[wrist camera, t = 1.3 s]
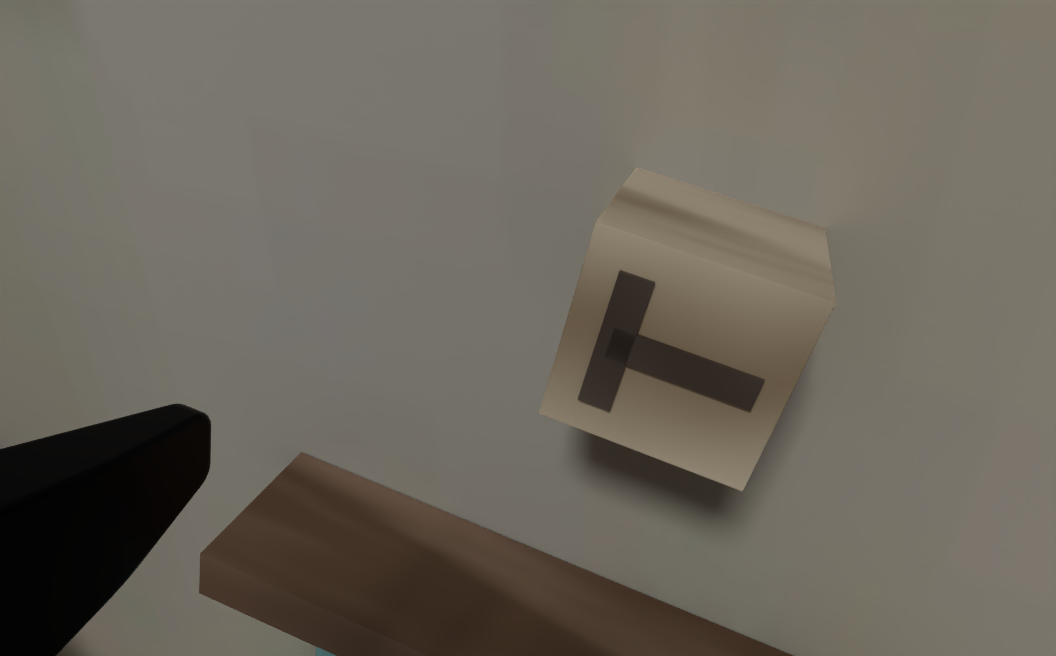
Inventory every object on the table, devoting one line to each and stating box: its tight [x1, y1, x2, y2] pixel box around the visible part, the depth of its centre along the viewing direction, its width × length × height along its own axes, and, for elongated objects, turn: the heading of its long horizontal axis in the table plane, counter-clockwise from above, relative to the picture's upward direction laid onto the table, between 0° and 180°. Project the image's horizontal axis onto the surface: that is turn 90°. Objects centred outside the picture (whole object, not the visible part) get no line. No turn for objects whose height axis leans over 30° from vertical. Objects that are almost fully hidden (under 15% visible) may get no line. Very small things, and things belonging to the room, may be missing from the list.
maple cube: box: [539, 167, 836, 491], centre depth 17 cm, size 4×4×5 cm
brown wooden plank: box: [199, 452, 792, 656], centre depth 22 cm, size 2×20×5 cm, turn 76°
